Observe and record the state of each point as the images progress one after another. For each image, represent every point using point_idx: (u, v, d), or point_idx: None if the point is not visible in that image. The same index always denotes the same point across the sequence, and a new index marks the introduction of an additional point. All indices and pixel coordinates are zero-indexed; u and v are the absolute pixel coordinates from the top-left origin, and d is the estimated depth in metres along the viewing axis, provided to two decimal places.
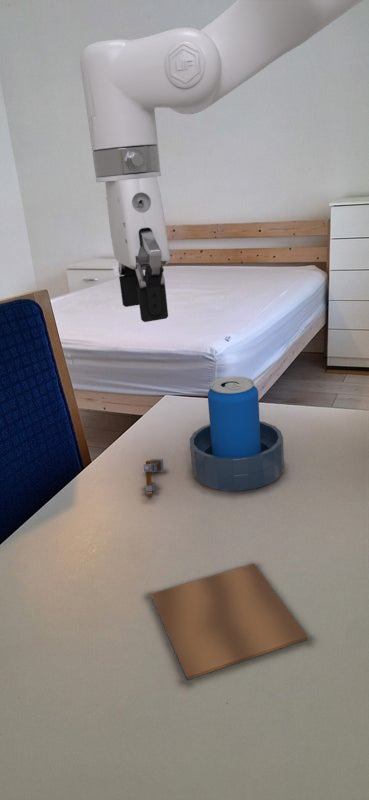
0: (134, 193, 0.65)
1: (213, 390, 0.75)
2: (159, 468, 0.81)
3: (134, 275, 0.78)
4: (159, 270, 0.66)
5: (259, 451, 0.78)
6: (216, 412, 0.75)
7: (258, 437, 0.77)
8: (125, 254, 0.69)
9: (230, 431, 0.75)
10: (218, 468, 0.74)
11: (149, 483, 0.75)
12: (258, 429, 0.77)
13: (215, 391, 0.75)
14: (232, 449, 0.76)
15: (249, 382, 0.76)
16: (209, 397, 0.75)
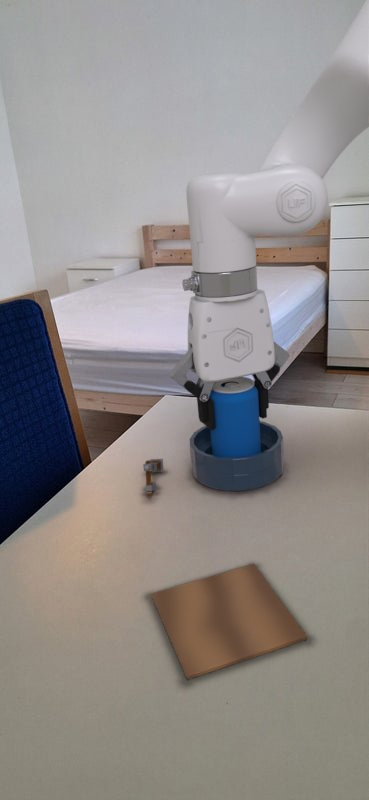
0: (189, 311, 0.72)
1: (213, 390, 0.75)
2: (159, 468, 0.81)
3: (257, 388, 0.77)
4: (186, 388, 0.74)
5: (259, 451, 0.78)
6: (216, 412, 0.75)
7: (258, 437, 0.77)
8: None
9: (230, 431, 0.75)
10: (218, 468, 0.74)
11: (149, 483, 0.75)
12: (258, 429, 0.77)
13: (215, 391, 0.75)
14: (232, 449, 0.76)
15: (249, 382, 0.76)
16: None
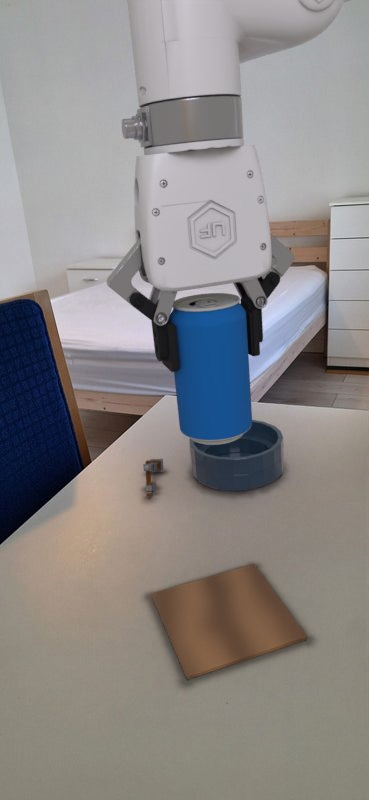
0: None
1: (176, 309, 0.48)
2: (159, 468, 0.81)
3: (245, 309, 0.50)
4: (132, 303, 0.47)
5: (248, 406, 0.51)
6: (181, 343, 0.48)
7: (246, 384, 0.50)
8: None
9: (202, 373, 0.48)
10: (218, 468, 0.74)
11: (149, 483, 0.75)
12: (246, 372, 0.50)
13: (179, 310, 0.48)
14: (206, 402, 0.49)
15: (232, 299, 0.50)
16: None
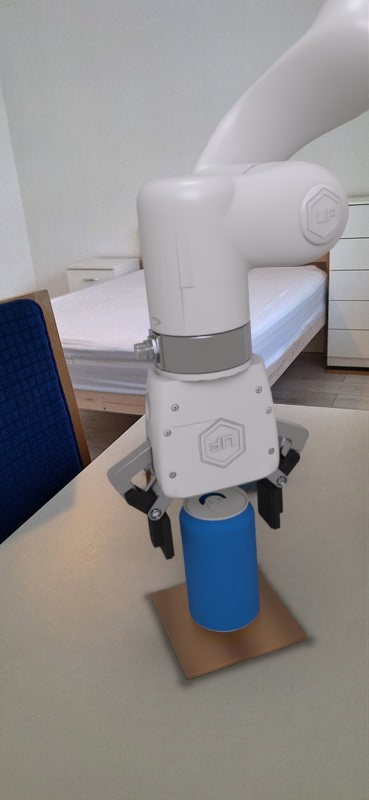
0: (146, 391, 0.46)
1: (186, 512, 0.50)
2: None
3: (266, 485, 0.51)
4: (126, 498, 0.47)
5: (256, 595, 0.53)
6: (191, 546, 0.50)
7: (255, 577, 0.52)
8: None
9: (212, 574, 0.50)
10: None
11: None
12: (254, 567, 0.51)
13: (189, 514, 0.49)
14: (216, 599, 0.50)
15: (241, 496, 0.51)
16: (181, 521, 0.50)
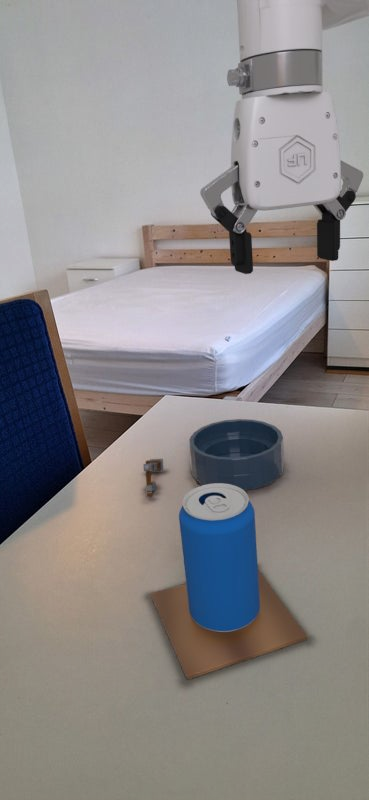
0: (234, 118, 0.56)
1: (186, 512, 0.50)
2: (159, 468, 0.81)
3: (326, 221, 0.61)
4: (216, 213, 0.57)
5: (256, 595, 0.53)
6: (191, 545, 0.50)
7: (255, 577, 0.52)
8: None
9: (212, 574, 0.50)
10: (218, 468, 0.74)
11: (149, 483, 0.75)
12: (254, 566, 0.51)
13: (189, 514, 0.49)
14: (216, 599, 0.50)
15: (241, 496, 0.51)
16: (181, 521, 0.50)
